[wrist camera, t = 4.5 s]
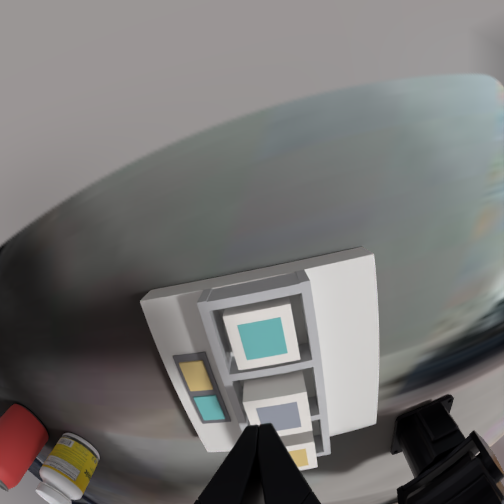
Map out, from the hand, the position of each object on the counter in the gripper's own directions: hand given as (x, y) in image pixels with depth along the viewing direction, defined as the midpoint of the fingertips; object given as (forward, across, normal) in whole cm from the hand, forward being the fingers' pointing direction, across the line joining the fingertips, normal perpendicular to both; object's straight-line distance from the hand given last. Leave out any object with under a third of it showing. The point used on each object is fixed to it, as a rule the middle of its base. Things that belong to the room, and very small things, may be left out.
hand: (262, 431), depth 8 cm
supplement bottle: (+11, +25, +16) cm, 31 cm away
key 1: (+8, 0, 0) cm, 8 cm away
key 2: (+7, 0, +9) cm, 12 cm away
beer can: (+11, +33, +12) cm, 37 cm away
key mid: (+7, 0, +5) cm, 8 cm away
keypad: (+10, 0, +5) cm, 12 cm away
